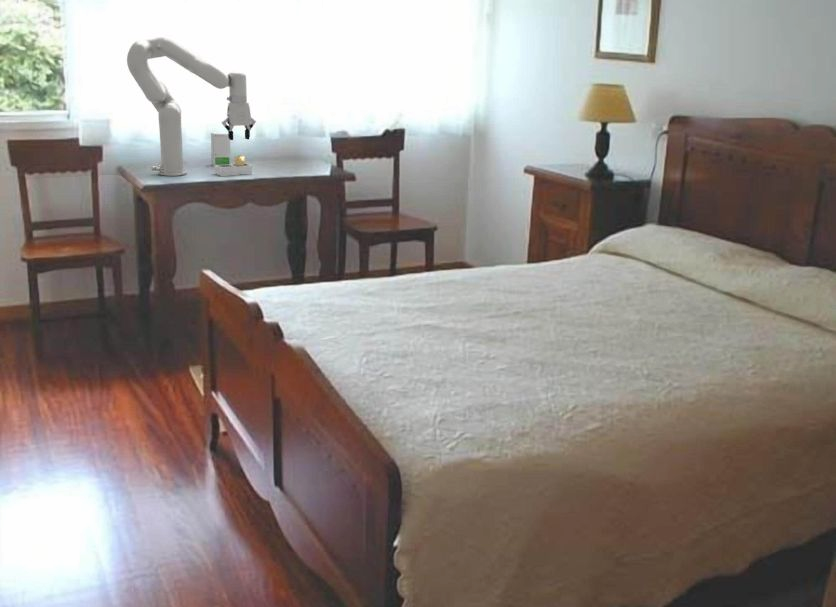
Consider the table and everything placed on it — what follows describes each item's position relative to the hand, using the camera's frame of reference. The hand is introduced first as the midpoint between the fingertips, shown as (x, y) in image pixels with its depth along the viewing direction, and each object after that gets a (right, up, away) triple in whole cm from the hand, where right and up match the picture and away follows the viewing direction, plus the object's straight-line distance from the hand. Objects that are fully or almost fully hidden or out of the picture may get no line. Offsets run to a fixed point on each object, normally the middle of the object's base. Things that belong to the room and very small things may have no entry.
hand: (239, 139), depth 424 cm
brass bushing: (-1, -15, +5) cm, 16 cm away
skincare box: (-14, -8, +27) cm, 31 cm away
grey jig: (-3, -16, +3) cm, 16 cm away
